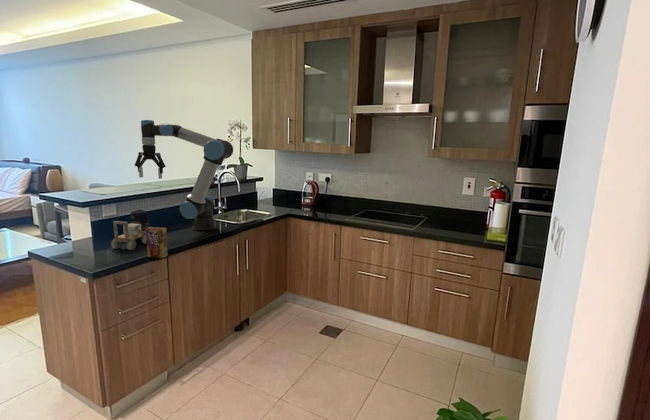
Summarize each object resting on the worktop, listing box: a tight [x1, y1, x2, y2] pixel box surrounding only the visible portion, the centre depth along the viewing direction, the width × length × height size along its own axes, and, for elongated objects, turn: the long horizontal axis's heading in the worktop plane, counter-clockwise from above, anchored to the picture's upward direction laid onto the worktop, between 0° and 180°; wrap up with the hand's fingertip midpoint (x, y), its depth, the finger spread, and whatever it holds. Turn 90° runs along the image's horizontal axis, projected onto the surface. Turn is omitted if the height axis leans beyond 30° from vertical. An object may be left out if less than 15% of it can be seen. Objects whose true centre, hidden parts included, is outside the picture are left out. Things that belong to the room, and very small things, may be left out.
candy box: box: [146, 226, 169, 259], centre depth 178 cm, size 9×4×15 cm, turn 86°
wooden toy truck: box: [110, 220, 147, 251], centre depth 193 cm, size 18×11×16 cm, turn 172°
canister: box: [130, 209, 150, 241], centre depth 208 cm, size 10×10×18 cm
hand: (150, 177), depth 224 cm, fingers open, 13 cm apart
